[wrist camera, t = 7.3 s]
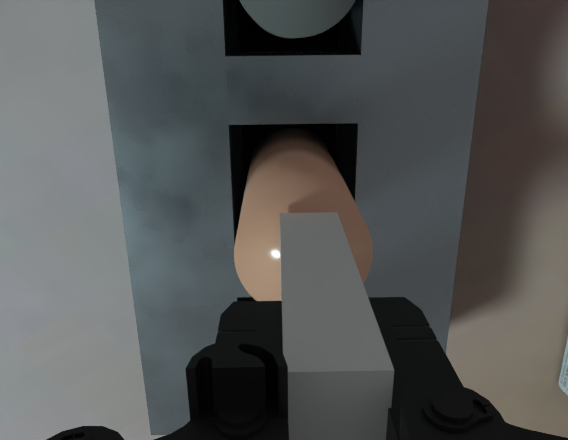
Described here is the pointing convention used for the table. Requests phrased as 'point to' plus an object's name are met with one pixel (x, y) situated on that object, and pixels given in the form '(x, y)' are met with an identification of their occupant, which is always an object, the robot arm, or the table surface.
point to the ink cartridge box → (564, 371)
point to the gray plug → (296, 15)
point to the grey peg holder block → (282, 110)
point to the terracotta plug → (291, 207)
